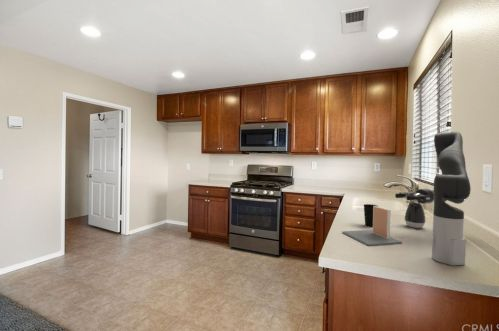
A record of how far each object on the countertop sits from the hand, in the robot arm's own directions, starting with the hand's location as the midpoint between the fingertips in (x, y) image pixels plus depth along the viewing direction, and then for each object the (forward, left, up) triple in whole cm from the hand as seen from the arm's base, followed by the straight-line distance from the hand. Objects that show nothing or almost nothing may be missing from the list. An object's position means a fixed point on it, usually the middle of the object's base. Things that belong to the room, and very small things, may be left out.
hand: (401, 196), depth 128 cm
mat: (0, +18, -20) cm, 27 cm away
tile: (0, +12, -19) cm, 22 cm away
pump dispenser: (+13, -22, -20) cm, 33 cm away
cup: (+20, +2, -20) cm, 28 cm away
